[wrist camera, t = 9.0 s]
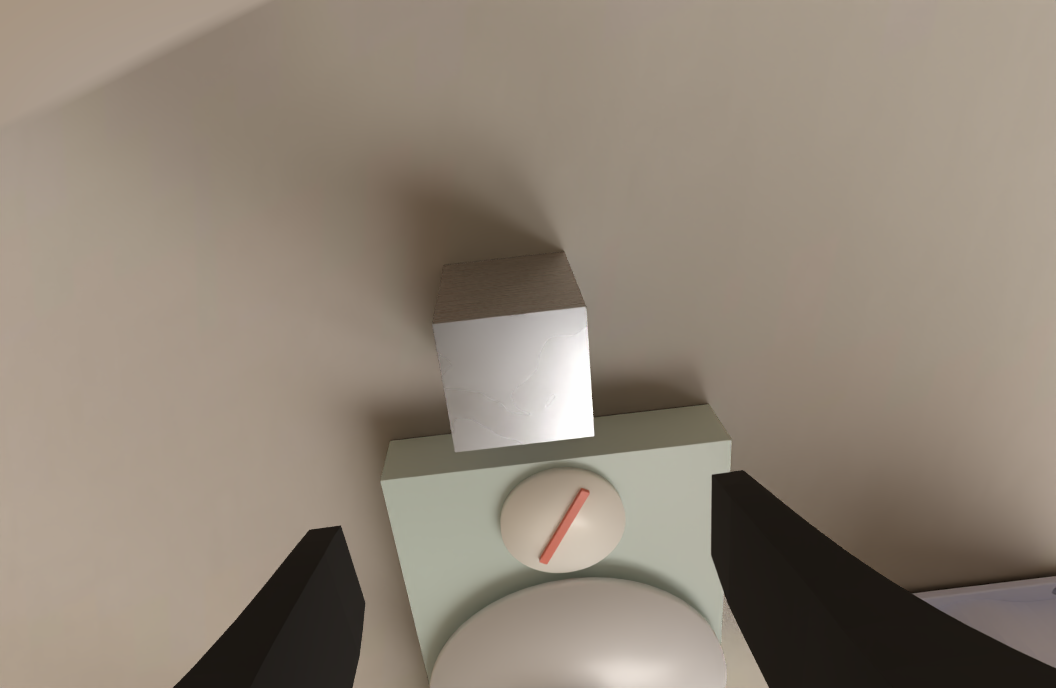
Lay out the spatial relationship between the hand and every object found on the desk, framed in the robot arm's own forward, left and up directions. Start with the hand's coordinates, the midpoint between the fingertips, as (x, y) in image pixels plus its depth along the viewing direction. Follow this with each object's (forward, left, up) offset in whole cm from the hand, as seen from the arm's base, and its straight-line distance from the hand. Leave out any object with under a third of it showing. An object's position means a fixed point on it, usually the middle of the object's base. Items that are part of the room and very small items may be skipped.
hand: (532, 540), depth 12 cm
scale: (-1, +13, -10) cm, 16 cm away
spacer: (0, 0, -11) cm, 11 cm away
